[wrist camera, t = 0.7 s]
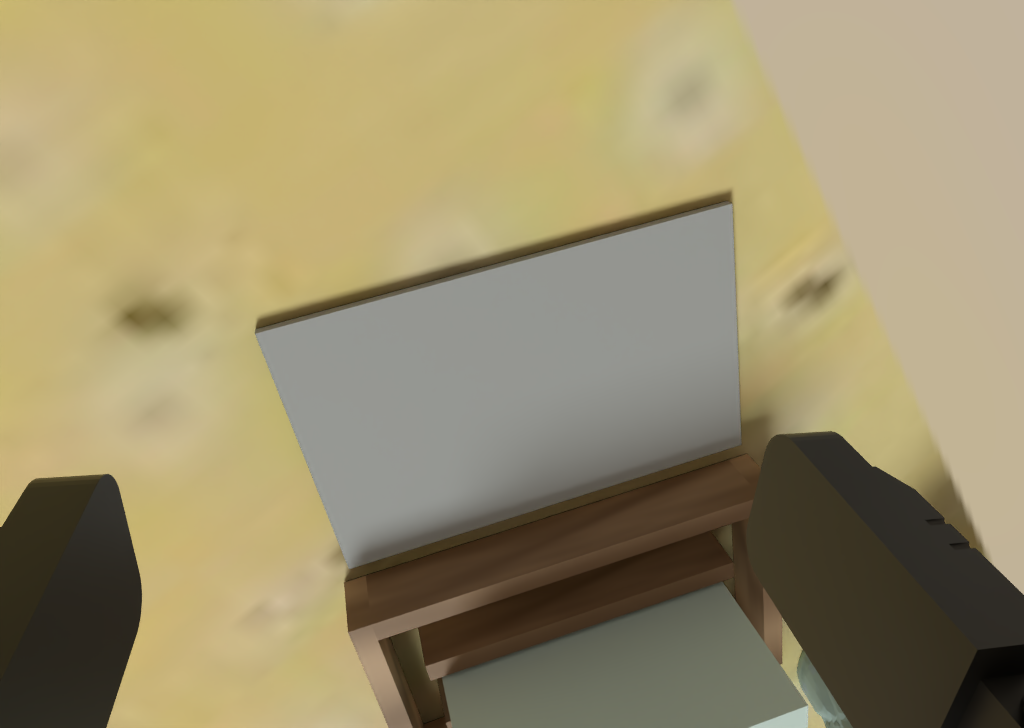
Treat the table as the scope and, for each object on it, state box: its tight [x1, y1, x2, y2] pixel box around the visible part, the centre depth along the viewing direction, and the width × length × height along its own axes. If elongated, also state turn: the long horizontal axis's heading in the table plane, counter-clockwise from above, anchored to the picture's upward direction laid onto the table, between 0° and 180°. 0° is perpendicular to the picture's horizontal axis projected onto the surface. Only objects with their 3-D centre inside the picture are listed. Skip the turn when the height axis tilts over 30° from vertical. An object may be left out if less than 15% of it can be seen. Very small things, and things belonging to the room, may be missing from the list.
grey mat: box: [255, 201, 741, 569], centre depth 32 cm, size 12×19×1 cm, turn 101°
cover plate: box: [442, 582, 808, 728], centre depth 35 cm, size 2×14×10 cm, turn 101°
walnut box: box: [344, 454, 782, 728], centre depth 37 cm, size 12×20×3 cm, turn 101°
